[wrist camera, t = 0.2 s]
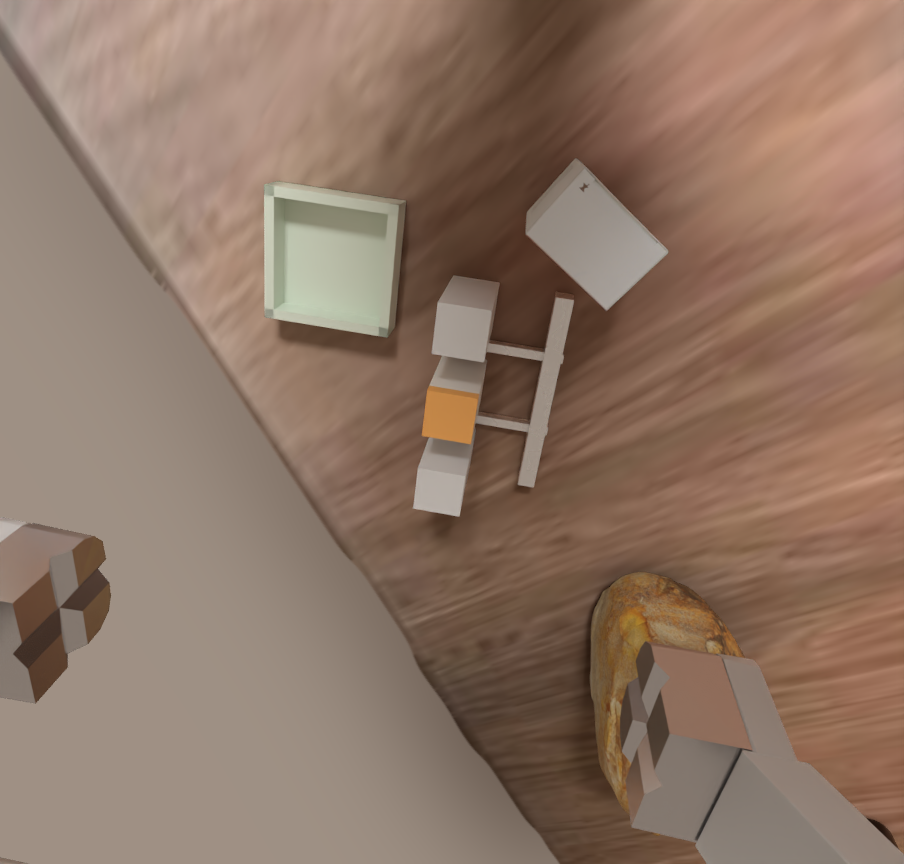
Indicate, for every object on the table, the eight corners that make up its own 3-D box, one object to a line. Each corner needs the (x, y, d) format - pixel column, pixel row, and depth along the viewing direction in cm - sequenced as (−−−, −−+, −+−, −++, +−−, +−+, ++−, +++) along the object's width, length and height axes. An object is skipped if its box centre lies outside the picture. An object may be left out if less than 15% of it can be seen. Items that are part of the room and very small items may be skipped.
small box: (525, 211, 52) (521, 232, 42) (576, 155, 49) (584, 164, 40) (595, 280, 53) (605, 314, 44) (647, 228, 51) (670, 253, 42)
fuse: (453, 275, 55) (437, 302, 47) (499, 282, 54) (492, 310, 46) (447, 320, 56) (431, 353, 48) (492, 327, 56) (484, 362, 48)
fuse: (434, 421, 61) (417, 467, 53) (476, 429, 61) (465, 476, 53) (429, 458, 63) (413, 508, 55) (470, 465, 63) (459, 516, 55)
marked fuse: (443, 352, 58) (427, 390, 50) (487, 359, 58) (478, 399, 50) (438, 393, 60) (421, 435, 52) (480, 400, 59) (470, 444, 51)
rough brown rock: (720, 726, 74) (774, 858, 61) (575, 721, 75) (596, 849, 61) (762, 559, 65) (836, 670, 51) (595, 554, 65) (625, 662, 52)
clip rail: (459, 276, 55) (454, 284, 52) (576, 294, 54) (577, 304, 51) (434, 459, 63) (429, 474, 60) (536, 477, 62) (536, 493, 59)
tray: (278, 181, 53) (264, 184, 50) (406, 200, 52) (399, 205, 50) (277, 308, 58) (264, 317, 55) (394, 327, 57) (387, 337, 55)
